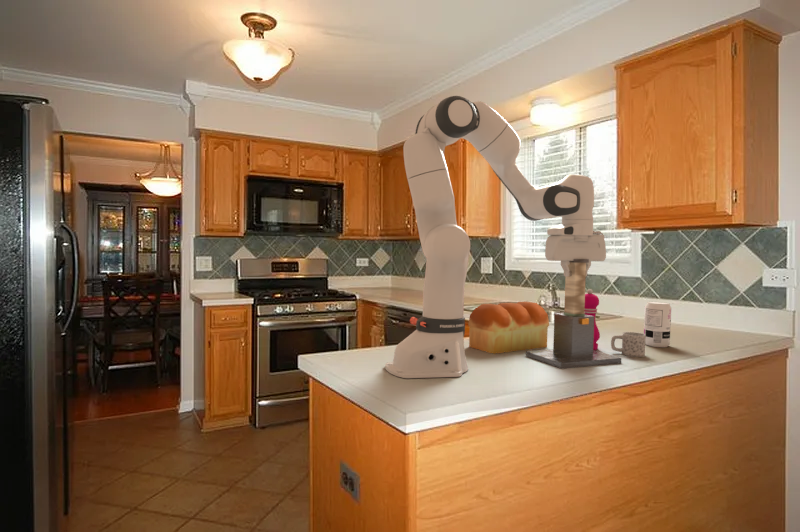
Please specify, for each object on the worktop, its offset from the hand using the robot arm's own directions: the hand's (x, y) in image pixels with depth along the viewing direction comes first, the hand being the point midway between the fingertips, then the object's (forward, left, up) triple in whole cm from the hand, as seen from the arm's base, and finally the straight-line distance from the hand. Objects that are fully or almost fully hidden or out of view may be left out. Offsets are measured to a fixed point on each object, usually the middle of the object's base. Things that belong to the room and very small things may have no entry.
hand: (575, 276), depth 147 cm
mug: (+23, +1, -25) cm, 34 cm away
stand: (0, 0, -25) cm, 25 cm away
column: (0, 0, -16) cm, 16 cm away
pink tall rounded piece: (+17, +12, -25) cm, 33 cm away
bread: (-8, +22, -26) cm, 34 cm away
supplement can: (+45, +9, -25) cm, 52 cm away
